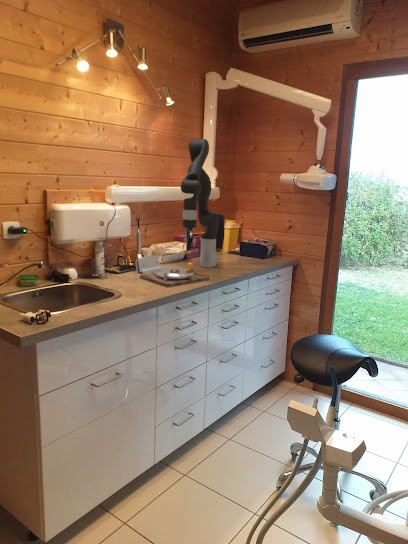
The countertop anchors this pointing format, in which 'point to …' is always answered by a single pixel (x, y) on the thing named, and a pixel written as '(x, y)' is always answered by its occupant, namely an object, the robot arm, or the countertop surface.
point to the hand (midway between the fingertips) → (188, 250)
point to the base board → (172, 282)
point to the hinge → (148, 264)
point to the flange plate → (177, 272)
